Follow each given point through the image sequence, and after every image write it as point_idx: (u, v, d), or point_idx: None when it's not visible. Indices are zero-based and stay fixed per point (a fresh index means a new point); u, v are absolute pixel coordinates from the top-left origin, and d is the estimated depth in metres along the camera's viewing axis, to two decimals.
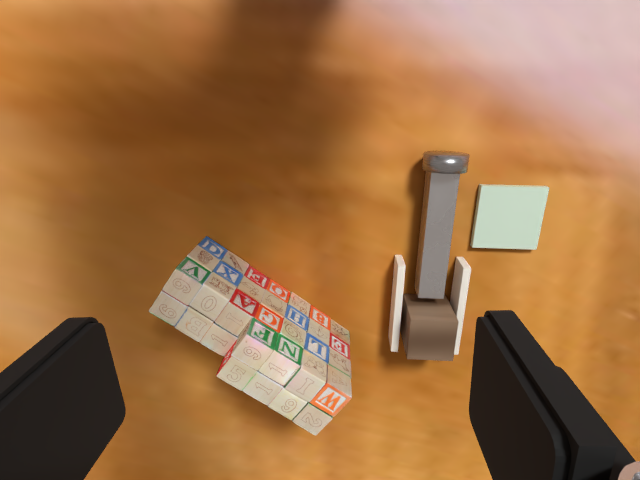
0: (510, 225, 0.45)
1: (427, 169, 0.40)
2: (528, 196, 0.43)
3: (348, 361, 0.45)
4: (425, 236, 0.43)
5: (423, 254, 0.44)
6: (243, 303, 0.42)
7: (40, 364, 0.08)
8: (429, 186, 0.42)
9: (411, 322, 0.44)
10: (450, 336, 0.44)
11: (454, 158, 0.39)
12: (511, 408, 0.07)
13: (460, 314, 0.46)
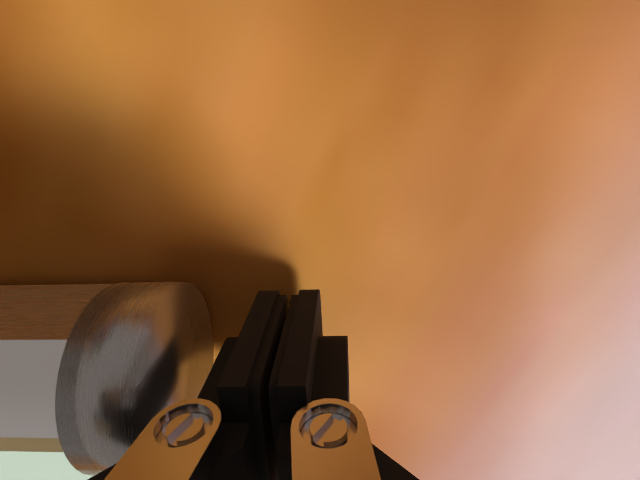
0: None
1: (81, 329, 0.08)
2: None
3: None
4: None
5: None
6: None
7: (267, 328, 0.09)
8: (28, 332, 0.09)
9: None
10: None
11: None
12: None
13: None
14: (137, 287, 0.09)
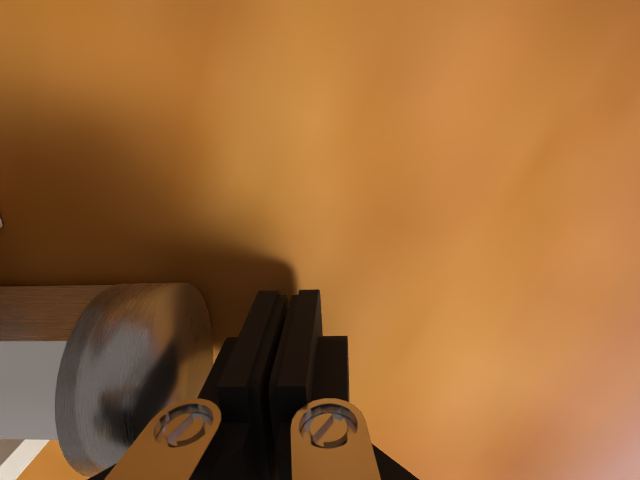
0: None
1: (80, 330, 0.08)
2: None
3: None
4: None
5: None
6: None
7: (267, 328, 0.09)
8: (28, 334, 0.09)
9: None
10: None
11: None
12: None
13: None
14: (137, 288, 0.09)
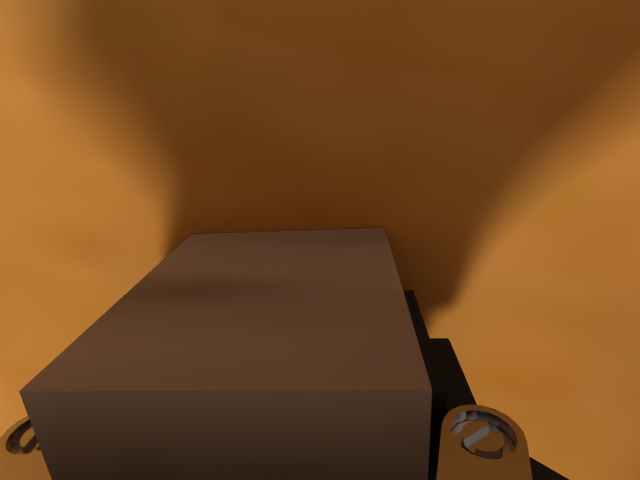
0: None
1: None
2: None
3: None
4: None
5: None
6: None
7: None
8: None
9: None
10: None
11: None
12: None
13: None
14: None
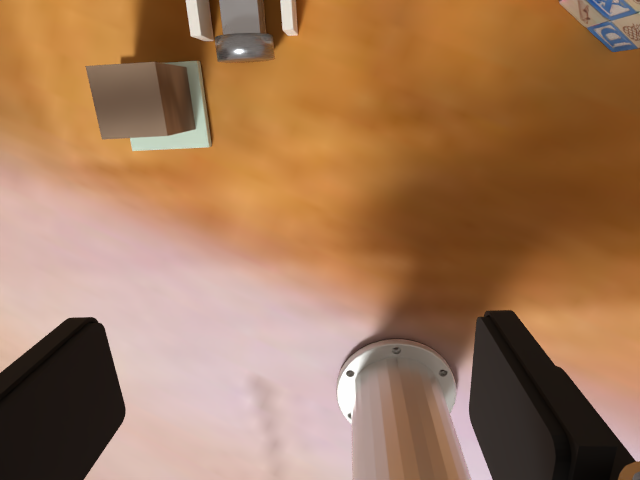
0: None
1: (266, 36, 0.30)
2: (152, 138, 0.36)
3: None
4: None
5: None
6: None
7: (40, 364, 0.08)
8: (258, 10, 0.30)
9: (165, 130, 0.30)
10: (104, 112, 0.30)
11: (235, 56, 0.30)
12: (511, 408, 0.07)
13: None
14: (273, 46, 0.32)
